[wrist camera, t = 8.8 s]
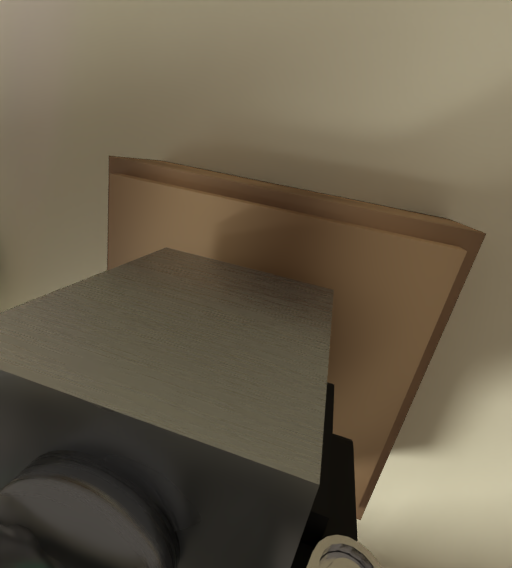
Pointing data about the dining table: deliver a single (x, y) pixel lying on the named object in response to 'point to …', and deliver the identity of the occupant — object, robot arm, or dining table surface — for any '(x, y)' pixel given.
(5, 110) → the dining table surface
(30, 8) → the dining table surface
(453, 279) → the tray
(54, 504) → the block
